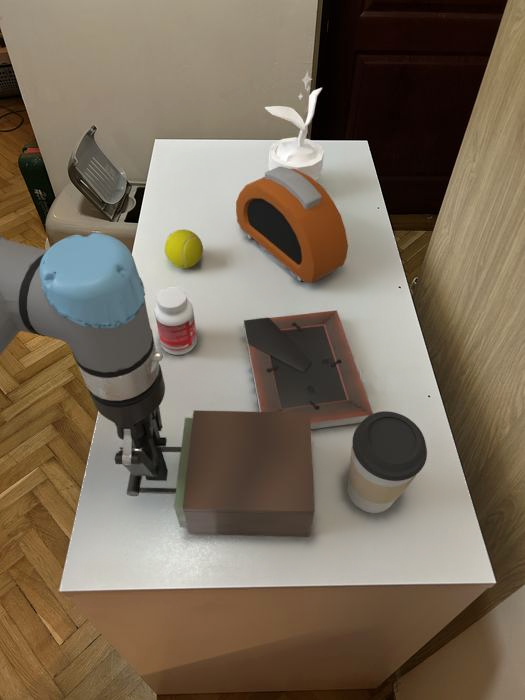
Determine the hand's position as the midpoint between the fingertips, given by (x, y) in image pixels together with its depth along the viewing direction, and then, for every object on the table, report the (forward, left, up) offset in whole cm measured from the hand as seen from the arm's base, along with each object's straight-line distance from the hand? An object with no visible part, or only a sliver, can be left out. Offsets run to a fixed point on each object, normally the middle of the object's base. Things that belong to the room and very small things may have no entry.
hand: (157, 475), depth 72 cm
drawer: (+7, 0, -2) cm, 8 cm away
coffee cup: (+30, 0, -3) cm, 30 cm away
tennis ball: (-1, +46, -3) cm, 46 cm away
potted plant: (+20, +70, -3) cm, 73 cm away
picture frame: (+21, +20, -3) cm, 29 cm away
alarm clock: (+19, +50, -3) cm, 53 cm away
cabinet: (+13, 0, -3) cm, 13 cm away
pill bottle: (0, +26, -3) cm, 26 cm away
